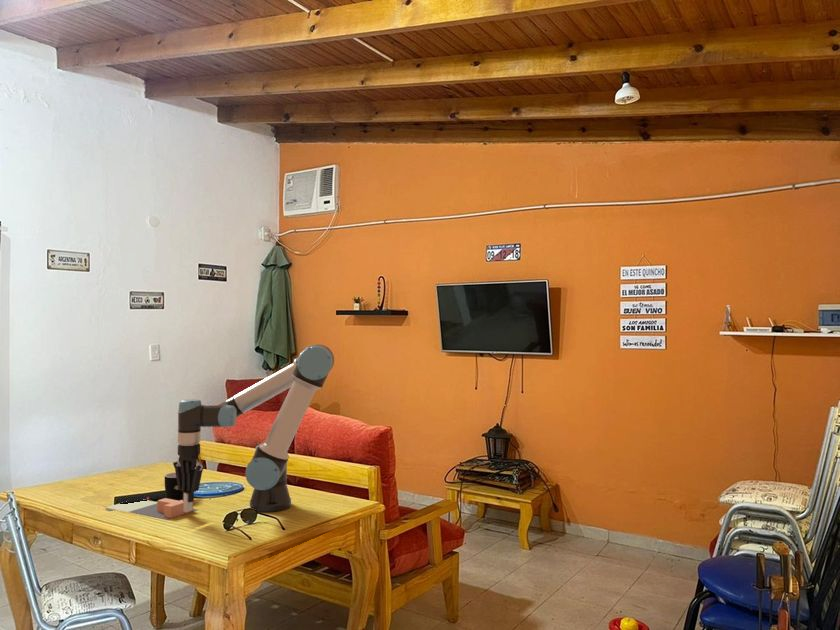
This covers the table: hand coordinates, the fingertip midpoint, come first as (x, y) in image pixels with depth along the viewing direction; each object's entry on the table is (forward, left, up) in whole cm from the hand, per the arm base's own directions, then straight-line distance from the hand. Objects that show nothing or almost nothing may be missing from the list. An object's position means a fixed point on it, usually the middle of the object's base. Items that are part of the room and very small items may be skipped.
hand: (187, 510), depth 226 cm
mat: (+18, 0, -3) cm, 18 cm away
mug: (+20, -15, -3) cm, 25 cm away
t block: (+8, 0, -2) cm, 8 cm away
